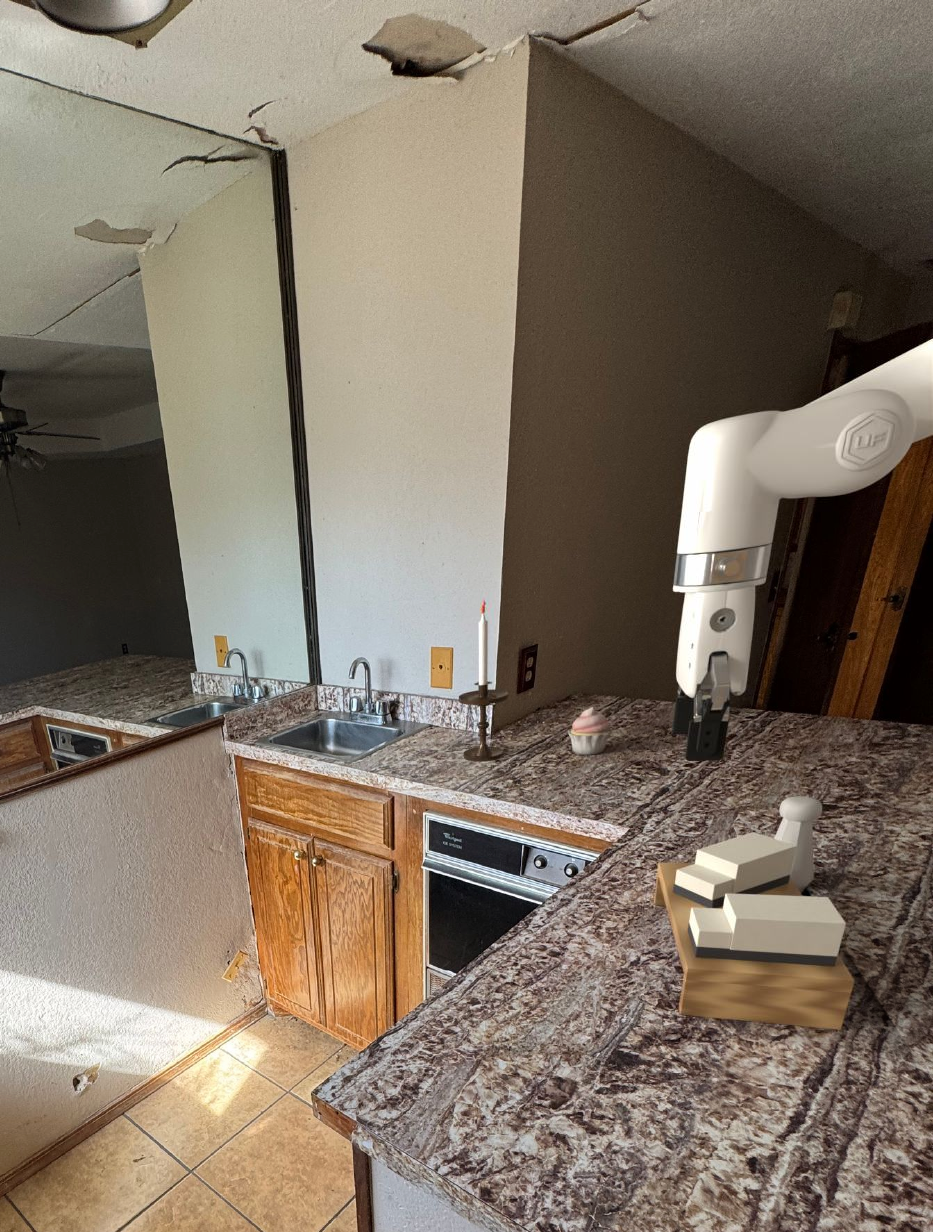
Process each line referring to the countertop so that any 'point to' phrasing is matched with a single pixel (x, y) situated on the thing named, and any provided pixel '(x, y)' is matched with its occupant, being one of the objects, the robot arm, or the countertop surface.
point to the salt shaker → (799, 835)
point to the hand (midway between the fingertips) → (695, 745)
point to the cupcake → (590, 732)
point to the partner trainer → (768, 929)
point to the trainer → (735, 869)
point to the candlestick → (483, 699)
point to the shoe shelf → (752, 975)
